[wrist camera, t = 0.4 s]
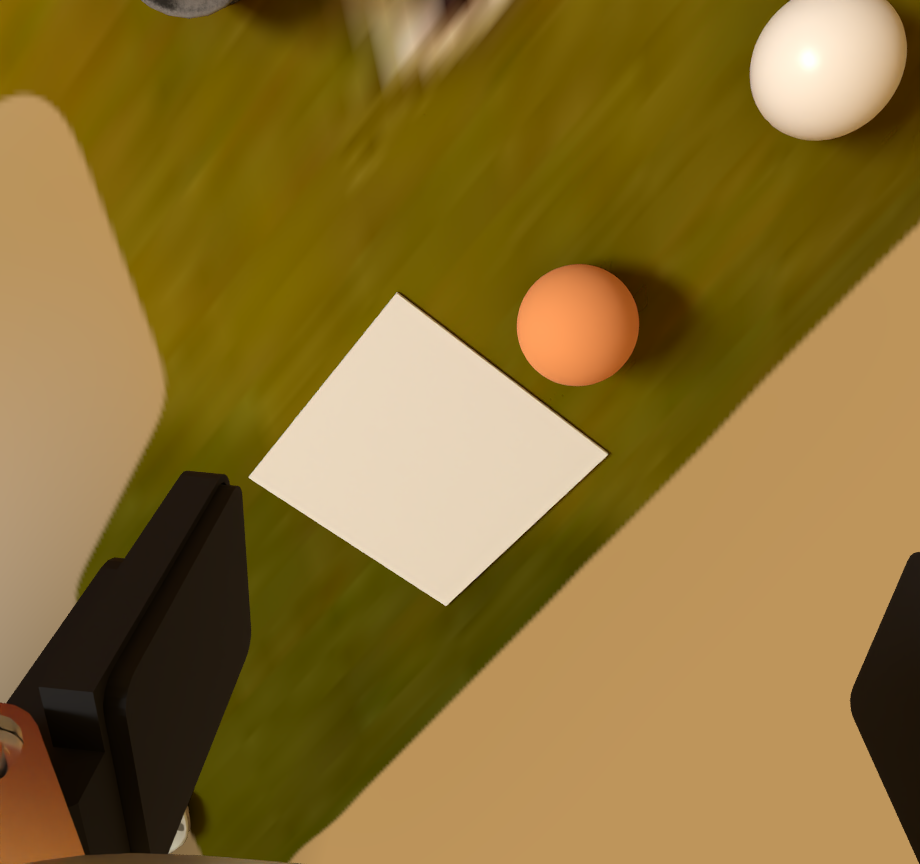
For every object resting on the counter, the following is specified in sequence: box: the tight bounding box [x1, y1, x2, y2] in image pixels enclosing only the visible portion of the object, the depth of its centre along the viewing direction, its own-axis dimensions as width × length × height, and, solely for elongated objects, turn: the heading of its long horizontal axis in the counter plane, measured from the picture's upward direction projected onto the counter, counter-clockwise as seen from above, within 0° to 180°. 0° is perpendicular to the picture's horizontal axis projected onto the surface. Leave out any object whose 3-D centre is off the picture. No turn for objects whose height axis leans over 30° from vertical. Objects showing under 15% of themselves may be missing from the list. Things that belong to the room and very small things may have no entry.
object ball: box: [517, 264, 639, 386], centre depth 37 cm, size 6×6×6 cm
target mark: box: [249, 292, 608, 606], centre depth 45 cm, size 14×14×1 cm
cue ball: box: [750, 0, 907, 141], centre depth 32 cm, size 6×6×6 cm
